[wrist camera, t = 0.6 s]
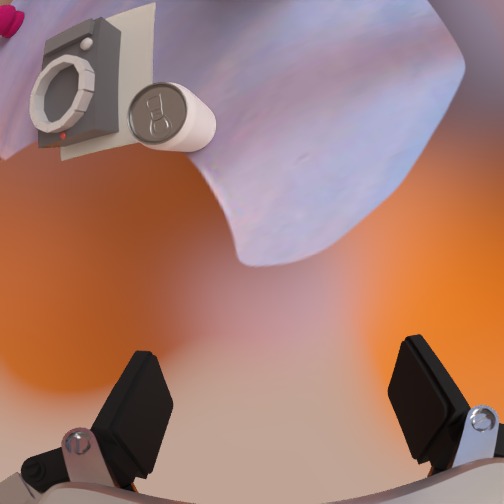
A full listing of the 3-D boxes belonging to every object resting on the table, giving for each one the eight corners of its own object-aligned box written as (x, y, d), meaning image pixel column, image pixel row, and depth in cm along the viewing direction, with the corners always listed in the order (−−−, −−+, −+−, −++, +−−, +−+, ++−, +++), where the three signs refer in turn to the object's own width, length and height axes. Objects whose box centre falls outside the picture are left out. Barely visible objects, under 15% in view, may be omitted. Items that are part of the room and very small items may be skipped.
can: (174, 159, 33) (132, 161, 21) (161, 113, 31) (115, 96, 20) (223, 142, 32) (201, 133, 21) (209, 95, 30) (181, 66, 19)
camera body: (68, 53, 27) (36, 41, 19) (121, 31, 26) (93, 11, 19) (64, 146, 32) (28, 148, 24) (118, 131, 31) (85, 128, 24)
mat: (67, 36, 26) (66, 36, 26) (155, 3, 25) (155, 2, 25) (62, 160, 33) (61, 161, 33) (154, 140, 32) (153, 139, 32)
